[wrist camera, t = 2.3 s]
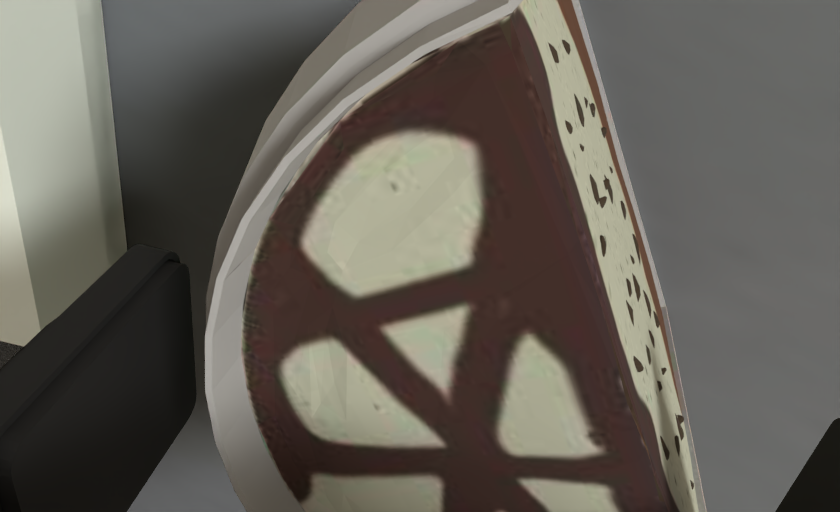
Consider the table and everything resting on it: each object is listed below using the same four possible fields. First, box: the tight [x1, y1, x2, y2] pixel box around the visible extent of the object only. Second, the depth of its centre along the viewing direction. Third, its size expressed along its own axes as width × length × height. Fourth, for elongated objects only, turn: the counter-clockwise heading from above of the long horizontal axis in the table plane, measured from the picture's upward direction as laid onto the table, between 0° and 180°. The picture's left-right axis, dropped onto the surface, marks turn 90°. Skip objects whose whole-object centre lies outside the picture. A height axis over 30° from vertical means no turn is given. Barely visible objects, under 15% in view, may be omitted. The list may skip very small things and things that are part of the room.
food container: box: [205, 0, 707, 512], centre depth 13 cm, size 12×6×10 cm, turn 22°
